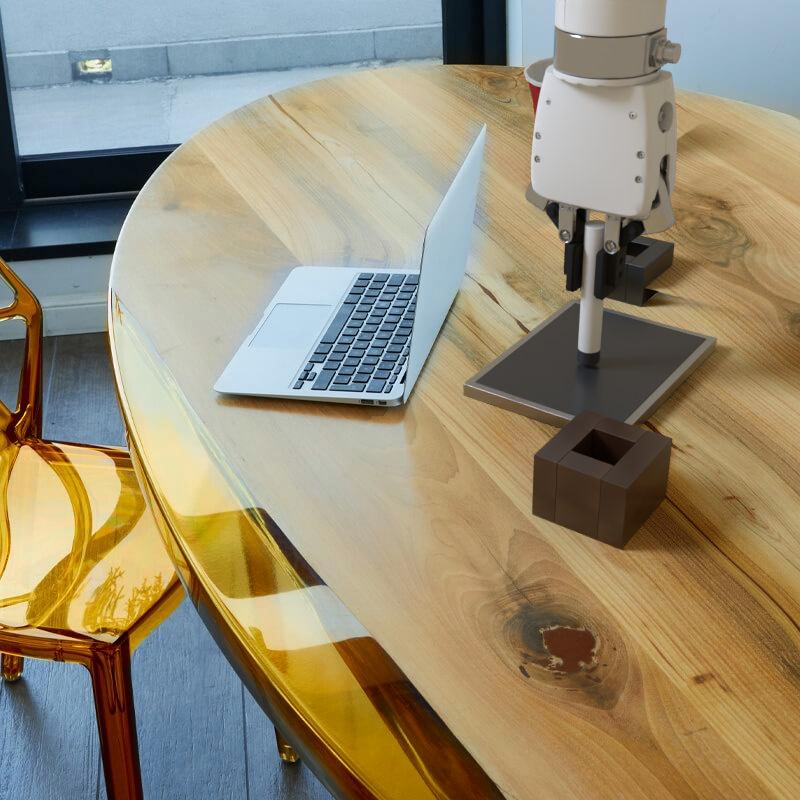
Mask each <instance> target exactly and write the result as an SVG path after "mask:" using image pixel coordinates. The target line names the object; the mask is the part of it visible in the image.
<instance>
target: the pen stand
mask: <svg viewBox="0 0 800 800" xmlns="http://www.w3.org/2000/svg"><path fill="white" fill-rule="evenodd" d="M673 440H674V439H673V437H670V436H667V435H664V434H661V433H658V432H654V431H652V430H648V429H646V428H642V427H640V428H639V427H636V426H633V425H630V424H627V423H624V422H621V421H618V420H615V419H612V418H609V417H605V416H603V415H600V414H597V413H594V412H591V411H588V410H585V409H582V410H581V411H580V412H579V413H578V414H577V415H576V416H575V417H574V418H573V419H572V420H571V421H570V422H569V423H567V424H566V425H565V426H564V427H563V428H562V429H561V428H560V430H558V431H557V432H556V433H555V434H554V435H553V436H552V437H551V438H550V439H549V440H548V441H547V442H545V444H544V445H542V446H541V448H539V449H538V450H537V451H536V452H535V453H534V454H533V470H532V497H531V498H532V502H531V507H532V508H531V514H532V515H534V516H536V517H538V518H541V519H544V520H545V521H548V522H551V523H554V524H556V525H558V526H561V527H563V528H566V529H569V530H571V531H573V532H576V533H578V534H581V535H584V536H586V537H589V538H590V539H594V540H597V541H599V542H601V543H603V544H607V545H609V546H611V547H614V548H617V549H619V550H623V548H625V546H626V545H627V544H628V543H629V542H630V540H631V539H632V538H633V537H634V536H635V534H636V533H637V532H638V531H639V529H640V528H641V527H642V526H643V525H644V524H645V523H646V522H647V520H648V519H649V518H650V517H651V516H652V514H653V513H654V512H655V511H656V510H657V509H658V508H659V506H660V505H661V504H662V503H663V502H664V500H665V499H666V498H667V493H668V492H667V491H668V481H669V474H670V465H671V457H672V448H673Z"/></svg>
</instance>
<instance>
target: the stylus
mask: <svg viewBox="0 0 800 800" xmlns="http://www.w3.org/2000/svg"><path fill="white" fill-rule="evenodd" d="M604 231H605V220H603V219H589V221H587V222H586V223H585V231H584V249H583V267H582V285H581V291H580V301H581V303H580V321H579V339H578V353H577V360H578V362H579V363H581V364H583V365H595V364H597V363H599V361H600V350H601V348H600V346H601V331H602V317H603V307H604V303H605V302H604V300H605V299H603V300H600V299H596V298H595V296H594V280H595V264H596V254H597V252H598V251H600V250H601V249H602V248H603V242H604Z"/></svg>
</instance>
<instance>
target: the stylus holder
mask: <svg viewBox="0 0 800 800" xmlns="http://www.w3.org/2000/svg"><path fill="white" fill-rule="evenodd" d="M674 251H675V243H674V242H670V241H666V240H662V239H657V238H653V237H649V236H645V235H640V236H638V237H637V238H636V239H634V240H633V241H631V242H630V243H629V244H627V250H626V263H625V276H624V280H623V283H622V285H621V286H619V287H618V288H617V289H616V290H615V291H613V292H612V293H611V294H610V295H608V296H607V297H606V298H607V299H611V300H615V301H618V302H623V303H626V304H630V305H632V306H633V305H634V306H637V307H643V306H644V305H645V304H646V303H648V301H650V300H651V299H652V298H653V297H654V296H655V295H657V294H658V293H659V292H660V290H657V289H652V288H649V286H650V285H651V284H652V283H653V282H654V281H656V280H657V279H658V278H659V277H660V276H662V275H663V274H664V273H665V272H666V271H668V269H670V268H671V267H672V266H673V262H674V253H675V252H674ZM579 291H580V292H581V287H580V288H579Z"/></svg>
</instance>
